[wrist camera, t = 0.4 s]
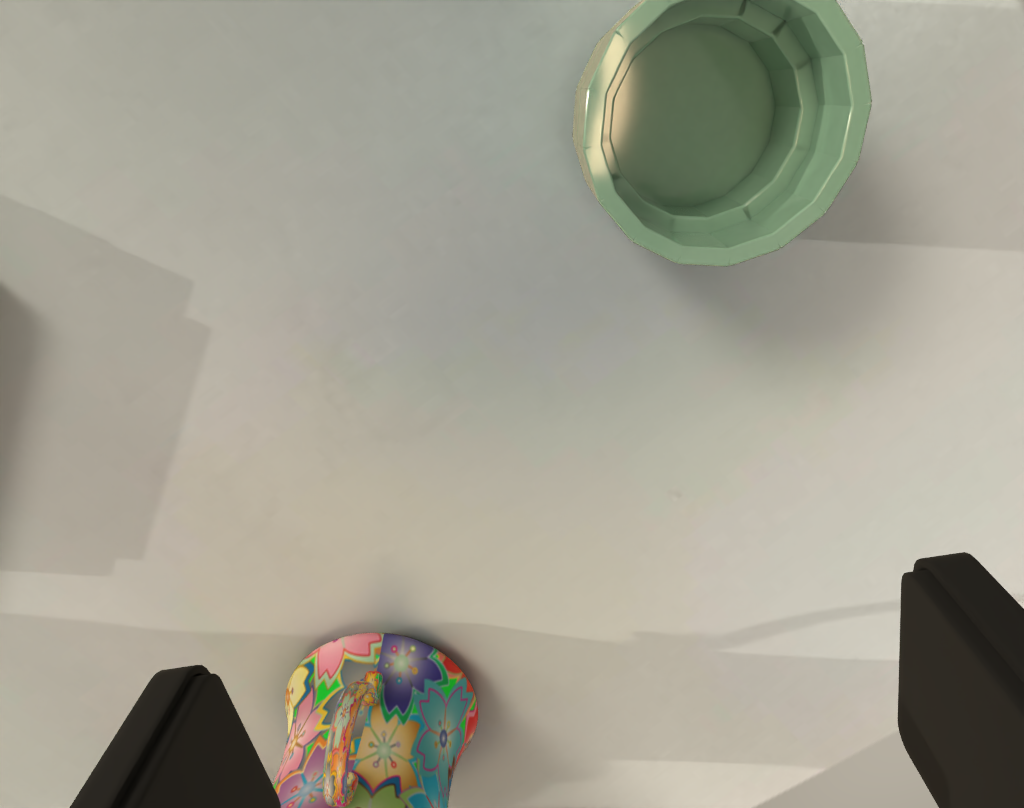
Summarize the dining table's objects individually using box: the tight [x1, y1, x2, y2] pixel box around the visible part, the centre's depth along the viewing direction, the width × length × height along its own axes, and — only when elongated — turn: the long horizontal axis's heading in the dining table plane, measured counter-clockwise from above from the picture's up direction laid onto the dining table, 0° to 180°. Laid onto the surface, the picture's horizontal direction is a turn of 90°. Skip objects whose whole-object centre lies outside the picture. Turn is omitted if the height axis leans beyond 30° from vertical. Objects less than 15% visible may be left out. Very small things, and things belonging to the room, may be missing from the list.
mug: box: [273, 633, 478, 808], centre depth 27 cm, size 12×9×11 cm
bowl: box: [572, 0, 872, 267], centre depth 20 cm, size 7×7×5 cm
